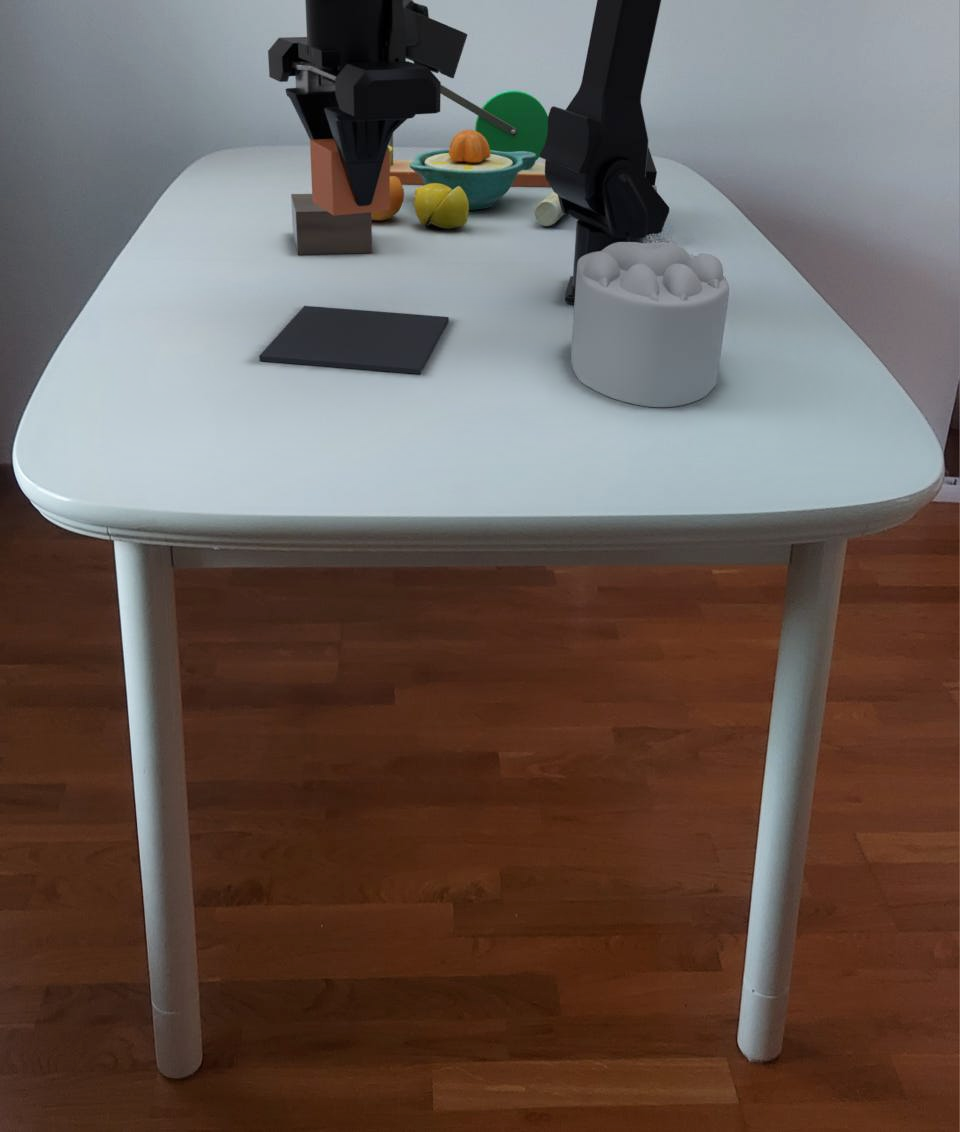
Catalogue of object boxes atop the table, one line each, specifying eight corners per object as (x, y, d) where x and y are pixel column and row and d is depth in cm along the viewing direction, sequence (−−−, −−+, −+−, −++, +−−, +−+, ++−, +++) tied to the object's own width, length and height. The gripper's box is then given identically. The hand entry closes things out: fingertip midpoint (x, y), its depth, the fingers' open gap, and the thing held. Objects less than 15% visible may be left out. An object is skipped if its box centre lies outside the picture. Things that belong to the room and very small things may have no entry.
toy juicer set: (330, 232, 118) (327, 150, 114) (340, 189, 133) (338, 117, 129) (614, 236, 119) (621, 157, 115) (591, 194, 135) (596, 123, 131)
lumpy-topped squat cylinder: (694, 343, 92) (709, 232, 88) (735, 407, 81) (754, 284, 77) (563, 342, 91) (571, 230, 87) (586, 406, 80) (596, 282, 76)
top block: (390, 210, 87) (389, 147, 85) (333, 215, 85) (331, 151, 83) (367, 197, 91) (366, 136, 88) (312, 201, 89) (309, 139, 87)
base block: (372, 253, 111) (371, 210, 109) (297, 254, 110) (295, 211, 108) (363, 233, 117) (362, 192, 115) (293, 235, 116) (290, 194, 114)
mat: (420, 374, 85) (420, 369, 84) (259, 360, 86) (258, 355, 86) (448, 321, 95) (448, 316, 95) (304, 310, 96) (304, 305, 96)
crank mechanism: (359, 183, 137) (356, 0, 127) (361, 170, 142) (358, -6, 132) (573, 187, 138) (585, 6, 128) (566, 174, 144) (577, 0, 134)
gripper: (515, -26, 76) (505, 218, 84) (400, -45, 90) (401, 165, 98) (354, -26, 71) (359, 232, 79) (260, -46, 86) (272, 174, 94)
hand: (351, 197), depth 88 cm, fingers closed on top block, 4 cm apart
